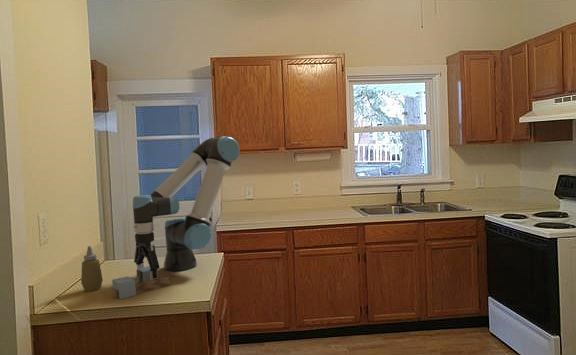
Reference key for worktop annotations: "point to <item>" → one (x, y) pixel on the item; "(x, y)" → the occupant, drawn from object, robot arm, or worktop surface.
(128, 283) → the slider block
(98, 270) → the squeeze bottle
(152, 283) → the rail
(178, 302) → the worktop surface
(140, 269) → the grey cube block
